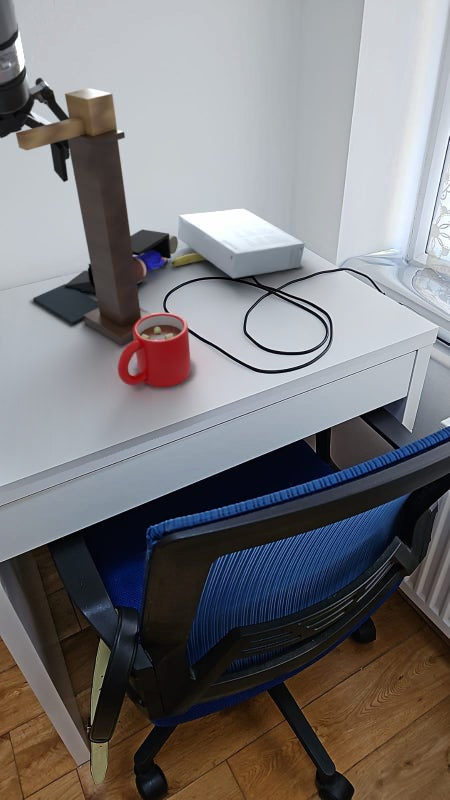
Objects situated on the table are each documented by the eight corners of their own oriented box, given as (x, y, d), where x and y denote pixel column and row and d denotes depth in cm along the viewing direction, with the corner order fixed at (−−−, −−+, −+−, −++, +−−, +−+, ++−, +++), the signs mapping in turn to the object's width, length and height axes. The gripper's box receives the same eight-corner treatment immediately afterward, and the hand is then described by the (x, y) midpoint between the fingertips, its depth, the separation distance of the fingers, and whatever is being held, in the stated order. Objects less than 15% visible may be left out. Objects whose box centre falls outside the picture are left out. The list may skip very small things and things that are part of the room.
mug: (106, 385, 85) (98, 341, 80) (165, 349, 92) (161, 306, 87) (143, 408, 81) (136, 363, 76) (201, 368, 88) (199, 324, 83)
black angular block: (64, 287, 107) (60, 264, 104) (85, 271, 112) (82, 248, 109) (124, 299, 103) (121, 275, 100) (143, 282, 109) (141, 259, 106)
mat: (33, 301, 104) (32, 298, 104) (66, 286, 108) (65, 283, 108) (72, 325, 98) (72, 322, 98) (105, 308, 102) (105, 305, 101)
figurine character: (149, 260, 118) (110, 283, 107) (149, 223, 114) (108, 242, 103) (179, 266, 116) (142, 290, 105) (179, 228, 112) (141, 249, 101)
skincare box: (240, 233, 126) (176, 238, 118) (244, 208, 123) (178, 211, 115) (300, 270, 112) (232, 279, 104) (306, 243, 109) (236, 250, 101)
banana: (206, 247, 116) (215, 256, 113) (206, 255, 117) (215, 264, 114) (168, 256, 113) (176, 265, 110) (168, 264, 114) (176, 273, 111)
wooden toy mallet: (33, 153, 71) (25, 114, 68) (12, 145, 74) (2, 107, 71) (117, 129, 78) (112, 93, 75) (94, 123, 81) (89, 87, 78)
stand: (122, 345, 93) (89, 144, 73) (84, 323, 98) (44, 130, 78) (159, 325, 97) (137, 130, 77) (121, 304, 103) (92, 117, 83)
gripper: (-93, 124, 64) (-41, 246, 83) (99, 51, 73) (105, 177, 92) (-126, 81, 65) (-68, 210, 85) (65, 15, 74) (78, 146, 93)
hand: (22, 193), depth 88 cm, fingers open, 13 cm apart
